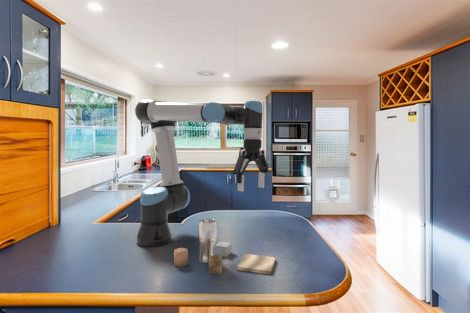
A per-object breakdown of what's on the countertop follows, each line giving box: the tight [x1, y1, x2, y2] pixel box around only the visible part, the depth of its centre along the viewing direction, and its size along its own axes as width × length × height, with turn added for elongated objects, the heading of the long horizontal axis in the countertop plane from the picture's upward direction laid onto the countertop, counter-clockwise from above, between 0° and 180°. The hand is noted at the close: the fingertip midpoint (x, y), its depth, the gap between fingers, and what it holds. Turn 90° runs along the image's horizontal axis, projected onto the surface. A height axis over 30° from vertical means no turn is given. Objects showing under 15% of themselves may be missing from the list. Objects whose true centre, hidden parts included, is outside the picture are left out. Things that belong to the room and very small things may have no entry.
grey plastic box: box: [214, 240, 233, 258], centre depth 116 cm, size 5×5×4 cm
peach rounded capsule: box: [173, 247, 189, 267], centre depth 106 cm, size 5×5×5 cm
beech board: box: [236, 253, 276, 275], centre depth 105 cm, size 12×12×1 cm
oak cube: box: [208, 255, 223, 275], centre depth 101 cm, size 4×4×4 cm
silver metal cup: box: [197, 218, 218, 264], centre depth 109 cm, size 7×7×15 cm
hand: (251, 189), depth 122 cm, fingers open, 13 cm apart
